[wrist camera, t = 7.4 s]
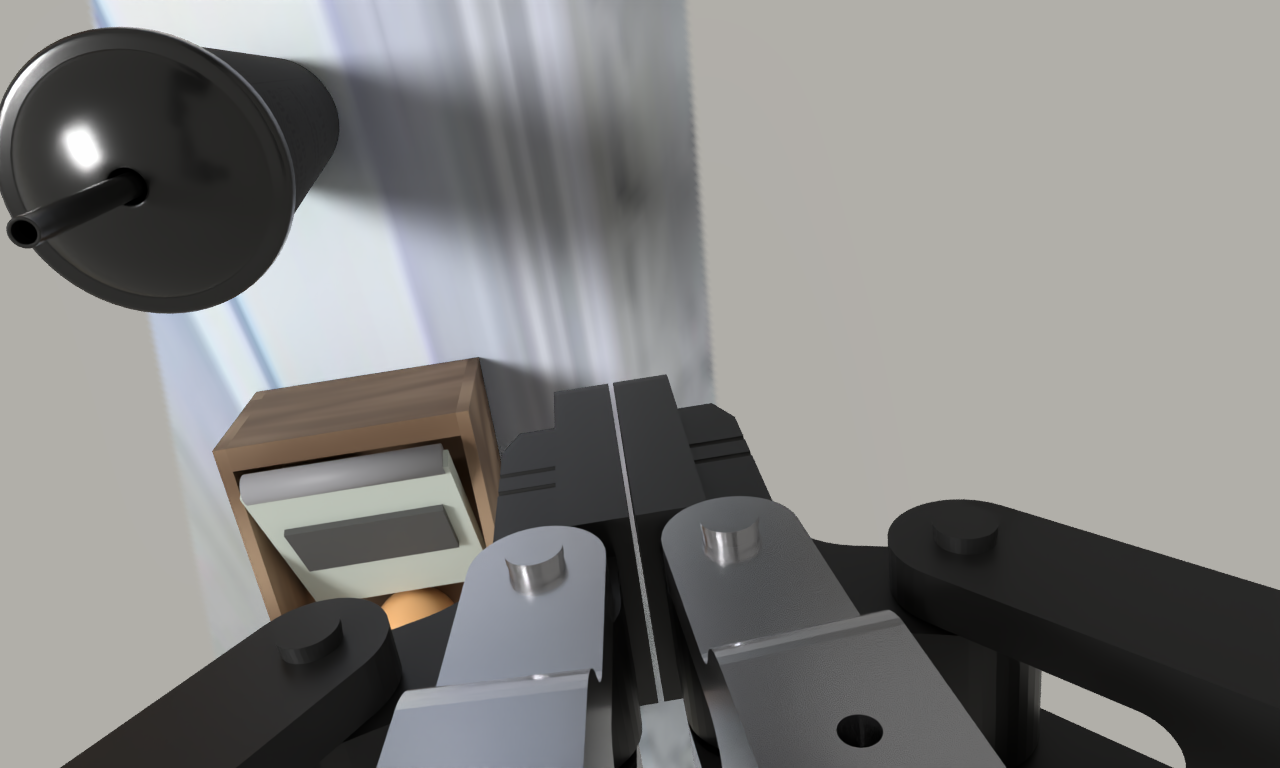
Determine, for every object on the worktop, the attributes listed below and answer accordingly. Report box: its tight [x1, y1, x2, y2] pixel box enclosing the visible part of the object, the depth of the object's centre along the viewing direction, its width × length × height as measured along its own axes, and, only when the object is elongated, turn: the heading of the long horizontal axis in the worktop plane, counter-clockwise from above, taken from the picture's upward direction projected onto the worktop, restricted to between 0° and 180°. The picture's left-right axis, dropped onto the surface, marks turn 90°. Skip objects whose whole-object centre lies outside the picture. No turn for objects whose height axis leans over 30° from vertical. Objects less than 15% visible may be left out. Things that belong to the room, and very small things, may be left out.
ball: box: [381, 587, 454, 630], centre depth 44 cm, size 4×4×4 cm
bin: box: [212, 357, 501, 621], centre depth 43 cm, size 18×10×6 cm, turn 8°
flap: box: [240, 443, 487, 602], centre depth 40 cm, size 10×8×1 cm
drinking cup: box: [0, 27, 339, 314], centre depth 29 cm, size 8×8×20 cm
